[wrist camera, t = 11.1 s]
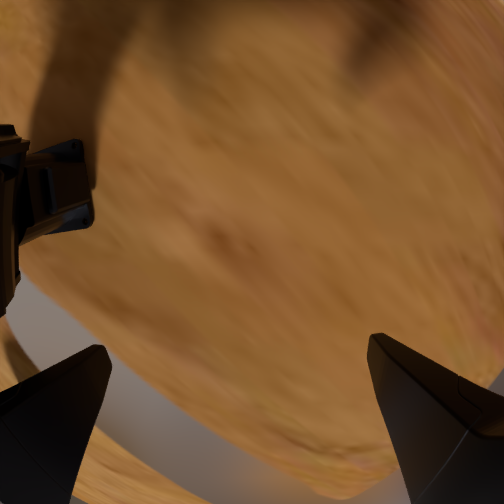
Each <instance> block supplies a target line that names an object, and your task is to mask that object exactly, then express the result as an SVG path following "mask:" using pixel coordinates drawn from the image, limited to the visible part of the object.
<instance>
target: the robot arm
mask: <svg viewBox="0 0 504 504" xmlns="http://www.w3.org/2000/svg"><path fill="white" fill-rule="evenodd" d="M75 143H77V147H76V148H75ZM29 145H30V141H29V140H24V139H22V137H19V136H18V135H17V134H16V132H15V128H14V125H11V124H0V318H1V317H2V316H4V315H5V314H6V307H7V306H8V304H9V303H10V302H11V300H12V298H13V297H14V293H15V288H16V286H17V284H18V283H19V282H20V280H21V274H20V271H19V246H21V245H23V244H25V243H27V242H30V241H32V240H34V239H36V238H38V237H40V236H42V235H48V234H54V233H60V232H66V231H73V230H79V229H86V228H88V227H90V226H92V224H93V216H92V211H91V205H90V194H89V187H88V180H87V172H86V165H85V162H84V153H83V143H82V141H81V140H80V139H72V140H69V141H66V142H63V143H60V144H57V145H55V146H52V147H49V148H47V149H44V150H41V151H39V152H36V153H34V154H28V155H26V153H27V151H28V150H29ZM85 218H86V219H87V221H88V223H86V222H85ZM367 362H368V366H369V370H370V374H371V378H372V382H373V386H374V391H375V395H376V399H377V402H378V404H379V407H380V410H381V413H382V415H383V418H384V421H385V424H386V427H387V430H388V432H389V435H390V438H391V441H392V444H393V447H394V450H395V453H396V456H397V459H398V462H399V465H400V468H401V472H402V475H403V478H404V481H405V484H406V488H407V491H408V495H409V498H410V501H411V504H504V397H503V396H501V395H499V394H496V393H494V392H491V391H489V390H487V389H485V388H483V387H480V386H478V385H477V384H475V383H473V382H471V381H469V380H467V379H465V378H463V377H462V376H458V374H456V373H454V372H452V371H451V370H449V369H447V368H445V367H443V366H441V365H440V364H438V363H436V362H434V361H432V360H431V359H429V358H427V357H425V356H423V355H422V354H420V353H418V352H416V351H415V350H413V349H411V348H409V347H407V346H406V345H404V344H402V343H400V342H398V341H397V340H395V339H393V338H391V337H389V336H388V335H386V334H384V333H376V334H371V335H370V338H369V344H368V351H367ZM111 371H112V363H111V360H110V358H109V355H108V353H107V350H106V348H105V347H104V346H103V345H97V344H94V345H91V346H90V347H88V348H86V349H84V350H82V351H80V352H78V353H76V354H74V355H72V356H70V357H69V358H67V359H65V360H63V361H61V362H59V363H57V364H55V365H53V366H51V367H49V368H47V369H45V370H44V371H42V372H40V373H38V374H36V375H34V376H32V377H30V378H28V379H26V380H24V381H22V382H20V383H18V384H16V385H14V386H12V387H10V388H8V389H6V390H4V391H2V392H0V504H69V502H70V499H71V495H72V491H73V488H74V485H75V481H76V478H77V475H78V472H79V468H80V465H81V462H82V459H83V456H84V453H85V450H86V447H87V444H88V441H89V439H90V436H91V433H92V430H93V427H94V425H95V422H96V419H97V416H98V414H99V411H100V409H101V406H102V403H103V400H104V396H105V392H106V389H107V385H108V381H109V378H110V374H111Z"/></svg>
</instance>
